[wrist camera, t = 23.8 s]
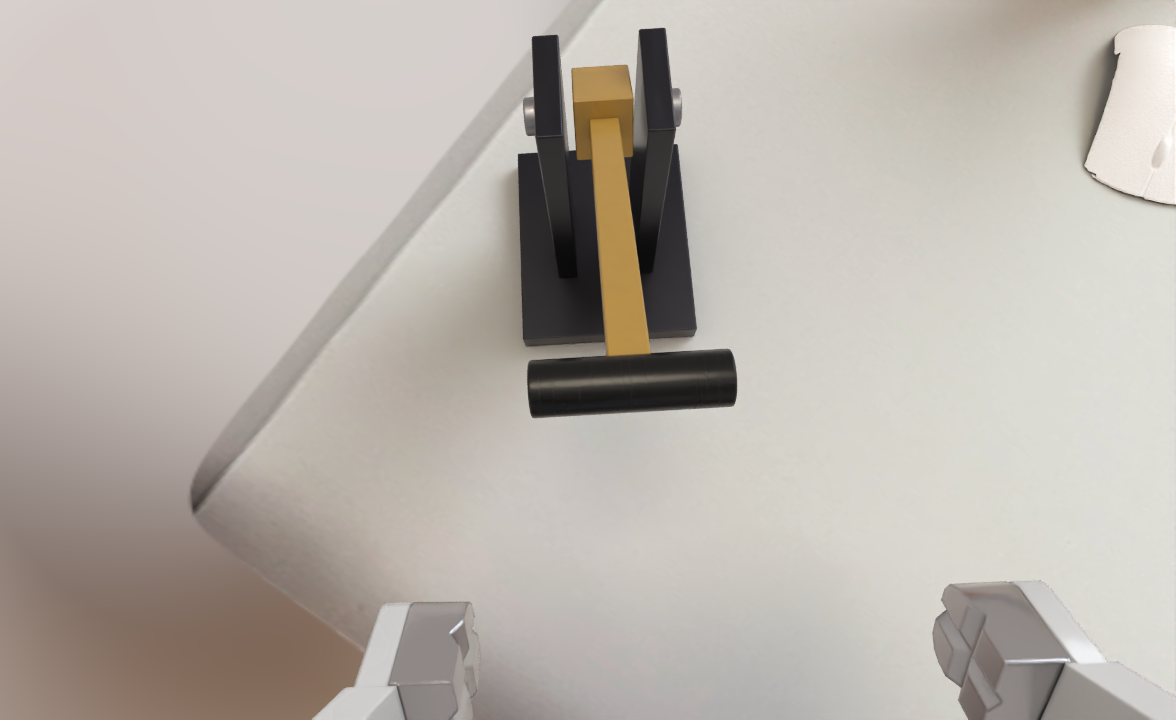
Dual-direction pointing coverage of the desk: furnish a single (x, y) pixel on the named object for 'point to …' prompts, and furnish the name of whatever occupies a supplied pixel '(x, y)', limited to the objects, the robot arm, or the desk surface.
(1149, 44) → the computer mouse
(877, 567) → the desk surface
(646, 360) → the bolt lever
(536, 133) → the bolt bracket
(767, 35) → the desk surface
